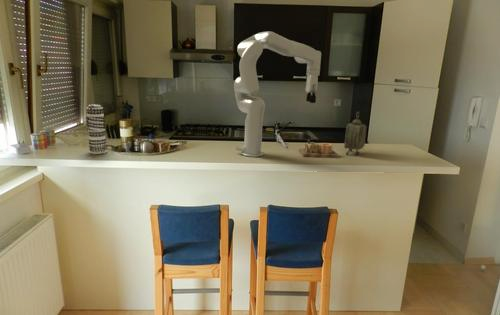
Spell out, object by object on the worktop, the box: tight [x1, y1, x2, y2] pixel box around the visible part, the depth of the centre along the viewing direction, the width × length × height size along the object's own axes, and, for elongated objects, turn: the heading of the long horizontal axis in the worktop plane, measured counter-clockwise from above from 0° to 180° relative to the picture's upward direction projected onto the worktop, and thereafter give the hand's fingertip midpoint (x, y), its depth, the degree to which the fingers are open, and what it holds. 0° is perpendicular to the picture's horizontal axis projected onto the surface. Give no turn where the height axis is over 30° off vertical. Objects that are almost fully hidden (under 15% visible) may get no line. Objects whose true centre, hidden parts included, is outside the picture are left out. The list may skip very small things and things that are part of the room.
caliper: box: [276, 133, 288, 149], centre depth 211 cm, size 20×1×6 cm, turn 11°
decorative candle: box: [85, 104, 108, 155], centre depth 173 cm, size 9×9×25 cm
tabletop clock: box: [343, 111, 368, 156], centre depth 190 cm, size 14×9×25 cm, turn 152°
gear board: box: [298, 139, 340, 159], centre depth 188 cm, size 20×14×8 cm
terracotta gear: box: [318, 142, 333, 154], centre depth 188 cm, size 7×7×4 cm
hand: (310, 102), depth 198 cm, fingers open, 9 cm apart
